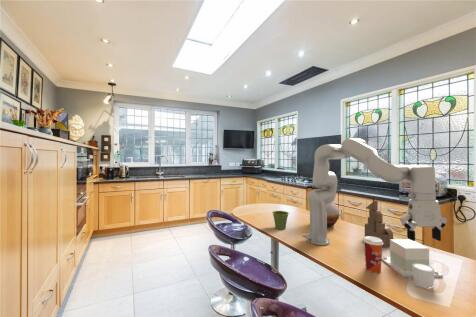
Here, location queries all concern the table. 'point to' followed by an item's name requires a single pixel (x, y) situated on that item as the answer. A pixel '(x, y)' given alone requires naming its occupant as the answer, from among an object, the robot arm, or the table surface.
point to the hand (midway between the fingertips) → (423, 239)
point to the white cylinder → (423, 275)
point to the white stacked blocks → (407, 256)
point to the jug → (331, 214)
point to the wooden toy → (377, 225)
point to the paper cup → (373, 253)
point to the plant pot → (280, 219)
